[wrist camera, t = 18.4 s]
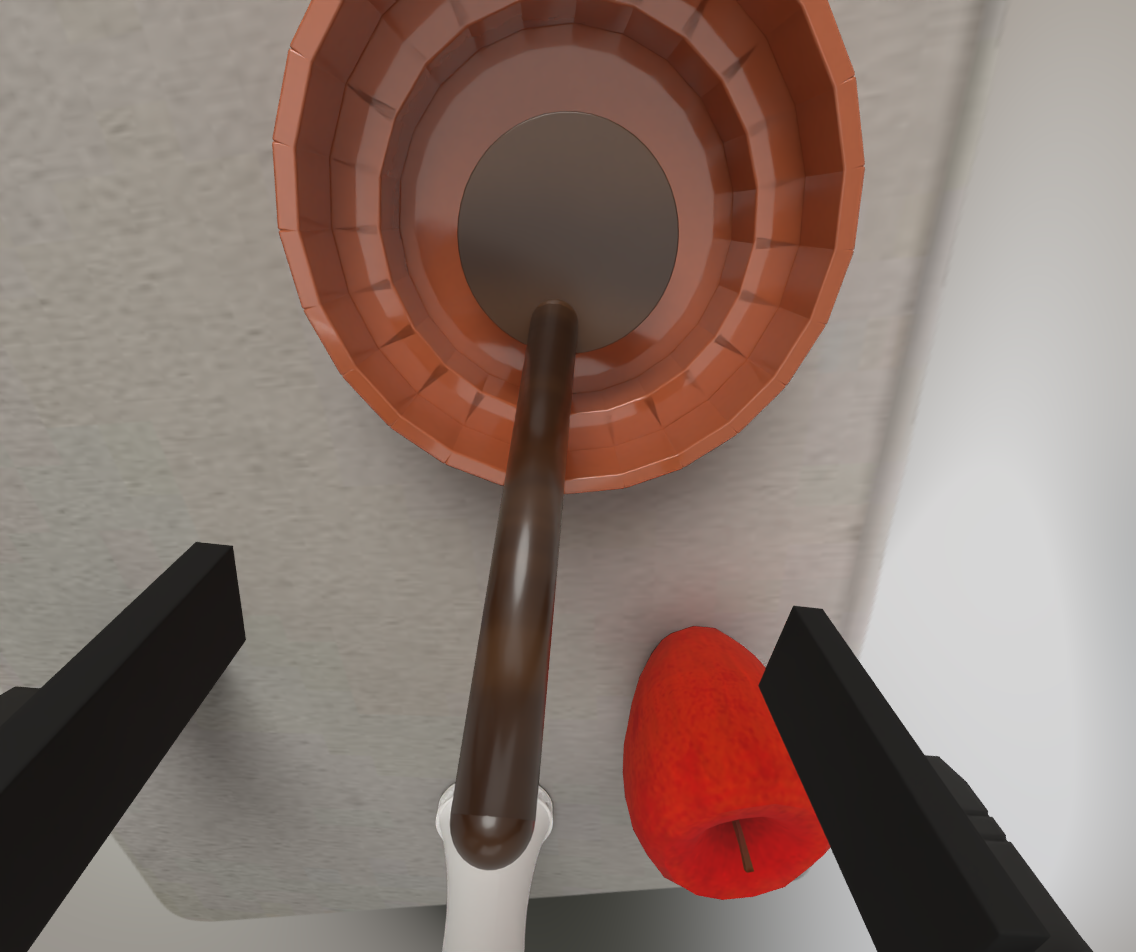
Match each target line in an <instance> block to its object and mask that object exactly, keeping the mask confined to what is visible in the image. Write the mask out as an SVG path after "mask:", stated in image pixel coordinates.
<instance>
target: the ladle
mask: <svg viewBox="0 0 1136 952" xmlns="http://www.w3.org/2000/svg"><path fill="white" fill-rule="evenodd" d="M457 239H458V251H459V256H460V261H461V266H462V269H463V272H464V275H465V278H466V281H467V284H468V286H469V288H470V290H471V292H472V294H473V296H474V298H475V299H476V301H477V302H478V304H479V305H480V307H481V308H482V310H483V311H484V312H485V313H486V315H487V316H488V317H489V318H490V319H491V320H492V321H493V322H494V323H495V324H496V325H497V326H498V327H499V328H500V329H501V330H503V331H504V332H505V333H507V334H508V335H509V336H511V337H512V338H514V339H516V340H518V341H519V342H521V343H523V344H525V345H527V346H526V352H525V358H524V364H523V371H522V377H521V383H520V389H519V395H518V401H517V408H516V414H515V420H514V426H513V432H512V438H511V444H510V451H509V457H508V463H507V469H506V475H505V481H504V487H503V494H502V500H501V506H500V512H499V518H498V524H497V530H496V537H495V543H494V549H493V555H492V561H491V567H490V574H489V580H488V586H487V592H486V598H485V604H484V610H483V617H482V623H481V629H480V635H479V641H478V647H477V653H476V660H475V666H474V672H473V678H472V684H471V690H470V696H469V703H468V709H467V715H466V721H465V727H464V733H463V740H462V746H461V752H460V758H459V764H458V770H457V776H456V783H455V789H454V795H453V801H452V807H451V813H450V834H451V837H452V841H453V844H454V846H455V848H456V850H457V852H458V853H459V855H460V856H461V857H462V858H463V860H465V861H466V862H467V863H468V864H470V865H471V866H473V867H475V868H478V869H482V870H497V869H501V868H504V867H506V866H508V865H510V864H512V863H513V862H514V861H515V860H517V859H518V858H519V857H520V856H521V855H522V853H523V852H524V851H525V850H526V848H527V846H528V844H529V842H530V840H531V838H532V835H533V832H534V827H535V821H536V810H537V798H538V787H539V775H540V764H541V752H542V740H543V729H544V717H545V705H546V694H547V682H548V670H549V659H550V647H551V636H552V624H553V612H554V601H555V589H556V577H557V566H558V554H559V542H560V531H561V519H562V508H563V496H564V484H565V473H566V461H567V449H568V438H569V426H570V414H571V403H572V391H573V380H574V368H575V356H576V354H577V353H584V352H590V351H593V350H597V349H601V348H603V347H606V346H608V345H610V344H613V343H615V342H617V341H618V340H620V339H622V338H623V337H625V336H627V335H628V334H629V333H631V332H632V331H633V330H634V329H636V328H637V327H638V326H639V325H640V324H641V323H642V322H643V321H644V320H645V319H646V318H647V317H648V316H649V315H650V313H651V312H652V311H653V310H654V308H655V307H656V305H657V304H658V302H659V301H660V299H661V297H662V296H663V294H664V292H665V290H666V288H667V286H668V283H669V281H670V279H671V275H672V272H673V269H674V266H675V262H676V257H677V252H678V241H679V223H678V214H677V208H676V202H675V199H674V195H673V192H672V188H671V186H670V184H669V181H668V179H667V177H666V174H665V172H664V171H663V169H662V167H661V166H660V164H659V162H658V161H657V159H656V158H655V156H654V155H653V154H652V153H651V151H650V150H649V149H648V148H647V146H646V145H645V144H644V143H643V142H641V141H640V140H639V139H638V138H637V137H636V136H635V135H634V134H632V133H631V132H630V131H628V130H627V129H625V128H624V127H623V126H621V125H619V124H617V123H615V122H613V121H611V120H609V119H607V118H604V117H601V116H598V115H595V114H591V113H585V112H579V111H558V112H552V113H545V114H542V115H539V116H536V117H533V118H529V119H527V120H525V121H523V122H521V123H519V124H517V125H515V126H514V127H513V128H511V129H510V130H508V131H507V132H505V133H504V134H503V135H501V136H500V137H499V138H498V139H497V140H496V141H495V142H494V143H493V144H492V145H491V146H490V147H489V148H488V149H487V151H486V152H485V153H484V154H483V156H482V157H481V158H480V159H479V161H478V163H477V164H476V166H475V168H474V169H473V171H472V173H471V175H470V177H469V180H468V182H467V184H466V187H465V189H464V193H463V196H462V200H461V203H460V209H459V215H458V228H457Z"/></svg>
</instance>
